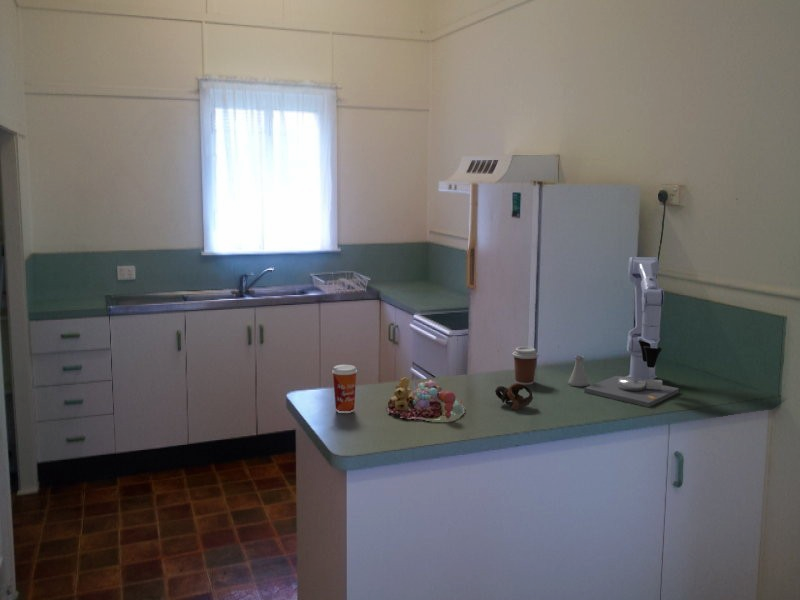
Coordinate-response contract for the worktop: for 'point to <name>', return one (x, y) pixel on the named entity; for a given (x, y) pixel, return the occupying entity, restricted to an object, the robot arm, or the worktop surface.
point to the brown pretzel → (514, 395)
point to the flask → (578, 373)
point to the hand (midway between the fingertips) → (648, 364)
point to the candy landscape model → (423, 401)
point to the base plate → (630, 392)
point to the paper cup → (344, 386)
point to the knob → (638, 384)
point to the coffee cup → (525, 364)
